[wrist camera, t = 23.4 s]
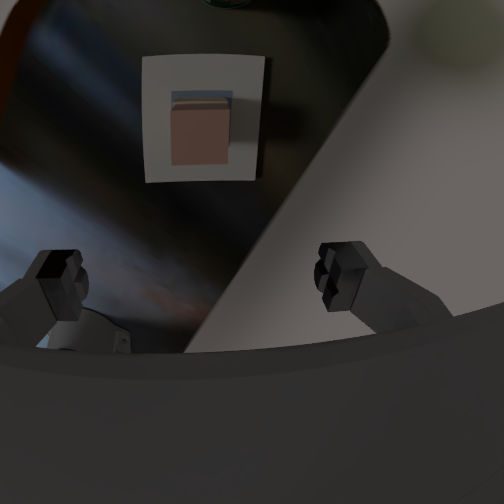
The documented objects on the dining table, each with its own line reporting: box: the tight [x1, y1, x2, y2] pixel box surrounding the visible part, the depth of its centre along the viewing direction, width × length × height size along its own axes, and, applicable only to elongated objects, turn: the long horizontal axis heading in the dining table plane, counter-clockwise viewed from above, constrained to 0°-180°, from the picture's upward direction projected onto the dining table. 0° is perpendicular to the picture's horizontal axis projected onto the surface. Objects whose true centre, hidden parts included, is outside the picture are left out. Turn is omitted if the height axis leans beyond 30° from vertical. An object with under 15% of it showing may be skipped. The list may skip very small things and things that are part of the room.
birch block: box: [173, 97, 228, 107], centre depth 30 cm, size 6×6×5 cm
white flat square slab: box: [142, 54, 265, 183], centre depth 33 cm, size 16×14×1 cm
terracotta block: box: [170, 103, 230, 166], centre depth 26 cm, size 5×5×5 cm
